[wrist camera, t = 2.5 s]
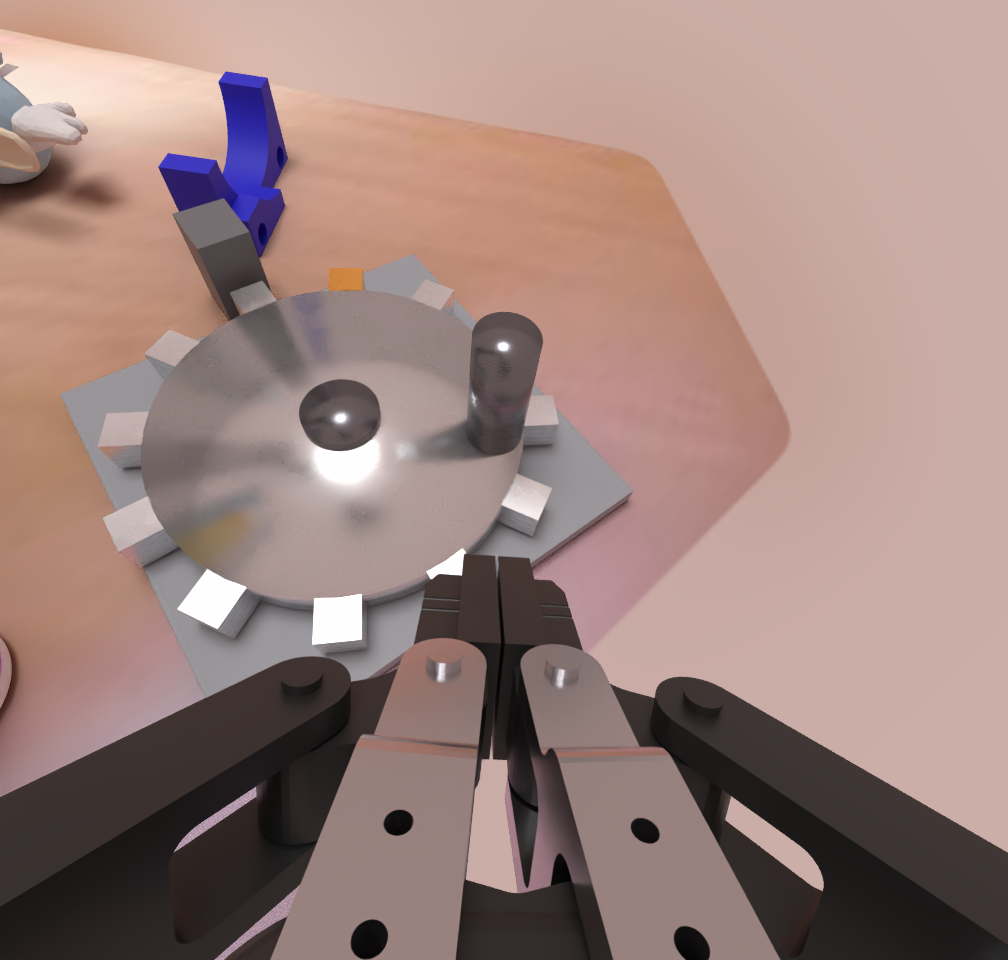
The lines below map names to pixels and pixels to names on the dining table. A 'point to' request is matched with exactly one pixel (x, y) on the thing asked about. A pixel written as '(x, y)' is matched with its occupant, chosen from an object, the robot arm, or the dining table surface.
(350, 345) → the sprocket
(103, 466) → the sprocket stand
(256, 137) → the cable clip
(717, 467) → the dining table surface
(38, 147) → the toy figure
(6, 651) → the supplement bottle
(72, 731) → the dining table surface
